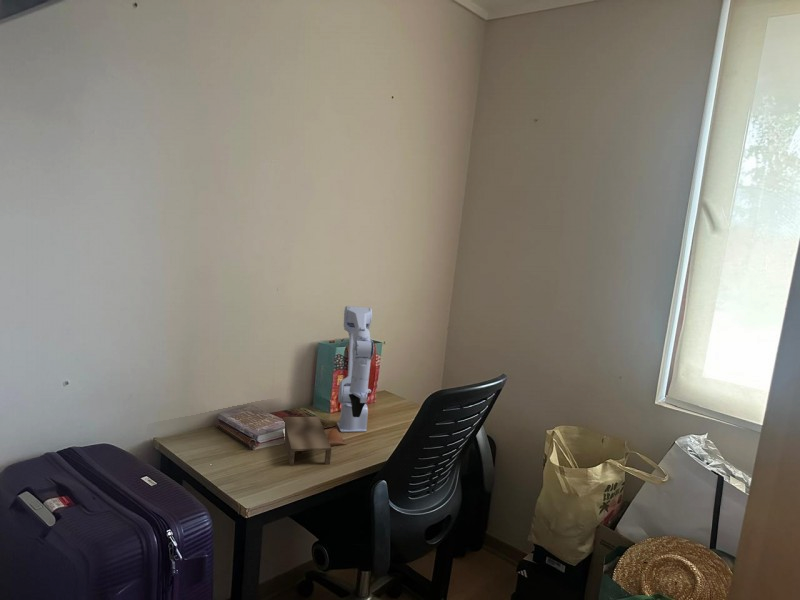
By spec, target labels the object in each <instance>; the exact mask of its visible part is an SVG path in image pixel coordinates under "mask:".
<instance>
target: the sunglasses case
mask: <svg viewBox="0 0 800 600" xmlns="http://www.w3.org/2000/svg"><path fill="white" fill-rule="evenodd" d="M324 431H325V434H326V436H327V438H328V441H329V443H330V446H331V448H333V447H334V448H335V447H338V446H345V445H347V443H346V442H345V441H344V439H343V437H342V436H341V434H340V432H339V431H338V427H332V428H329V429H324ZM312 451H313V450H310V451H298V452H299V453H300V454H303V453H307V452H308V453H309V452H312Z"/></svg>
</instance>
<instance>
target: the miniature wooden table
mask: <svg viewBox="0 0 800 600" xmlns="http://www.w3.org/2000/svg"><path fill="white" fill-rule="evenodd" d="M282 418H283V419H282V422H283V421H284V422H285V441H284V445H286V446H285V450H286V454H287V457H288V462H289V466H291V467H292V466H294V463H295V453H296V452H299V451H308V452H311V451H310V450H312V451H325V454H324V456H325V457H324V465H331V458H332V456H331V455H332V447H331V446H330V443H329V441H328V438H327V436H326V434H325V431H324V430H325V429H324V426H323V425H322V422H321V419H320V416H283V417H282Z"/></svg>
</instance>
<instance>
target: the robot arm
mask: <svg viewBox="0 0 800 600" xmlns="http://www.w3.org/2000/svg"><path fill="white" fill-rule="evenodd" d="M343 312H344V313H343V329H344V331H346V332H348V337H349V339H348V341H349V343H348V346H349V347H348V364H347V376H346V377H345V378H343V379H342V380H340V382H339V389H338V396H337V397H338V399H337V400H338V403H340V404H341V405H340V406H341V407H340V416H339V420H340V421H336V425H337V428H338V429H339V431H340V433H348V432H349V433H351V432H352V433H355V432H356V433H359V432H367V431H368V430H367V427H368V425H367V424H368V419H369V418H368V417H369V416H368V415H369V408H368V404H367V402H368V399H369V398H368V394H371V393H372V390H371V389H370V388H369V381H370V380H369V379H370V372H371V371H370V370H371V362H372V359H373V357H374V351H375V346H374V341H373V339H371V332H370V328H371V323H372V321H373V310H372V308H371V307H363V306H362V307H360V306H350V305H346V306H345V307H344V311H343Z"/></svg>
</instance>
